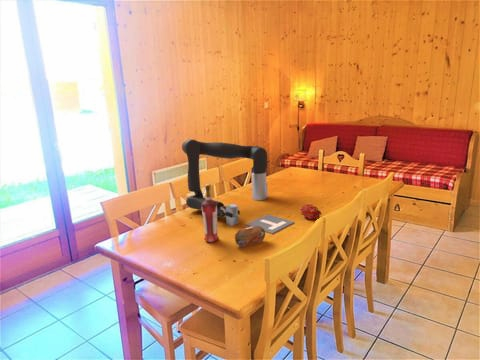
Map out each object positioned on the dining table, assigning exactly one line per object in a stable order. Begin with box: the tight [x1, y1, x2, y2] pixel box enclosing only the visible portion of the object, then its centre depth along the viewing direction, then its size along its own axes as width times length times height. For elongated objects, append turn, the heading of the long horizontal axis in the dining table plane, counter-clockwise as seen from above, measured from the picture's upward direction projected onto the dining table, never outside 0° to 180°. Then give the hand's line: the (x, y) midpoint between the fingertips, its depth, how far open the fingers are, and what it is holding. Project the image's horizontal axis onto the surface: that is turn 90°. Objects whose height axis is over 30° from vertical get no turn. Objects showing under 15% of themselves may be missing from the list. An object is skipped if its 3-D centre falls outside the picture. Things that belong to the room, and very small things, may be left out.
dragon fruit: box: [300, 203, 323, 221], centre depth 198 cm, size 8×8×12 cm
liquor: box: [201, 183, 219, 243], centre depth 174 cm, size 7×7×28 cm
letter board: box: [245, 214, 295, 235], centre depth 194 cm, size 18×18×1 cm
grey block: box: [225, 203, 239, 227], centre depth 195 cm, size 4×4×10 cm
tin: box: [234, 225, 266, 248], centre depth 171 cm, size 15×3×8 cm, turn 117°
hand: (235, 214), depth 193 cm, fingers closed on grey block, 4 cm apart
